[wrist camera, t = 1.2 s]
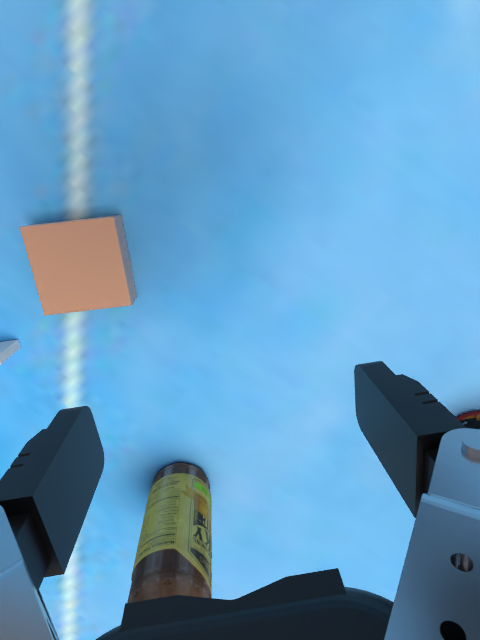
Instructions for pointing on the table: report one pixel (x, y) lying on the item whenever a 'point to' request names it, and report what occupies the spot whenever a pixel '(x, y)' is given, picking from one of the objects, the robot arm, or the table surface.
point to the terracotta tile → (80, 264)
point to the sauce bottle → (175, 537)
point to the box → (8, 349)
